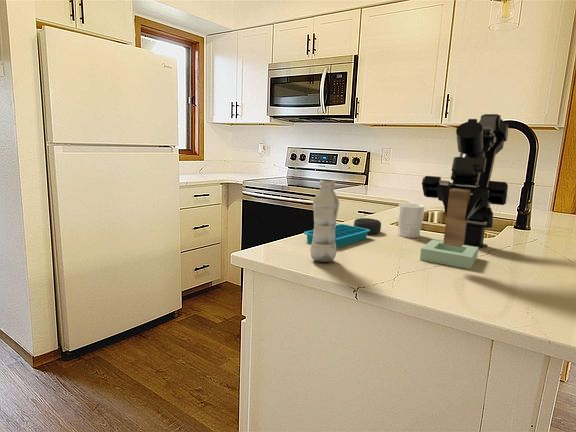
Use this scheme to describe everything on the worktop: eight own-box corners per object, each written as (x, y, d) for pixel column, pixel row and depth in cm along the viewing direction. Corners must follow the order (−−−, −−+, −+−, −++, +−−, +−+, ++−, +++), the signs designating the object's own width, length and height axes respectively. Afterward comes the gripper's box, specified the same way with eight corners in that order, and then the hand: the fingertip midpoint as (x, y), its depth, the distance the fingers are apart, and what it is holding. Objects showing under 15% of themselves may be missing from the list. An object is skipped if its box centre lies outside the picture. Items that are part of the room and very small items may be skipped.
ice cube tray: (301, 242, 116) (301, 232, 115) (340, 232, 131) (341, 223, 130) (333, 250, 108) (334, 240, 108) (371, 239, 123) (372, 229, 122)
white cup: (422, 239, 124) (426, 208, 122) (396, 237, 125) (399, 206, 124) (419, 233, 132) (422, 204, 130) (395, 231, 133) (398, 202, 131)
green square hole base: (430, 249, 112) (432, 239, 111) (477, 258, 105) (478, 247, 105) (419, 259, 102) (421, 248, 101) (470, 269, 95) (471, 257, 95)
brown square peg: (446, 240, 97) (452, 188, 94) (464, 243, 95) (470, 189, 92) (443, 244, 93) (449, 190, 91) (461, 247, 91) (468, 191, 89)
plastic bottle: (338, 259, 99) (343, 180, 96) (332, 266, 93) (337, 182, 89) (313, 255, 101) (318, 178, 98) (306, 263, 95) (310, 180, 91)
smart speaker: (370, 228, 138) (371, 217, 137) (385, 234, 130) (386, 222, 129) (348, 229, 134) (349, 218, 133) (363, 235, 126) (364, 223, 125)
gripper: (427, 143, 97) (411, 192, 90) (513, 146, 88) (502, 201, 81) (431, 172, 105) (416, 219, 99) (510, 178, 96) (500, 231, 89)
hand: (455, 217), depth 91 cm, fingers closed on brown square peg, 4 cm apart
